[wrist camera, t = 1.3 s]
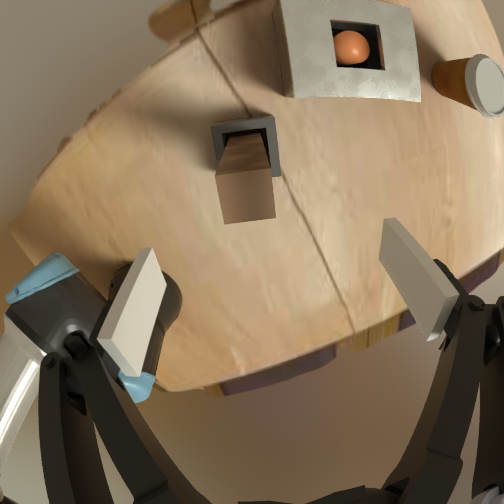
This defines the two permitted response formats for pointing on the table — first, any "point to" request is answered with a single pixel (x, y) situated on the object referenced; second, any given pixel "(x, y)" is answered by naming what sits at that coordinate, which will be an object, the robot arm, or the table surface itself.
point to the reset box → (323, 53)
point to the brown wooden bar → (245, 179)
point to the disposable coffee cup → (472, 83)
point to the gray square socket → (246, 124)
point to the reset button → (350, 48)
